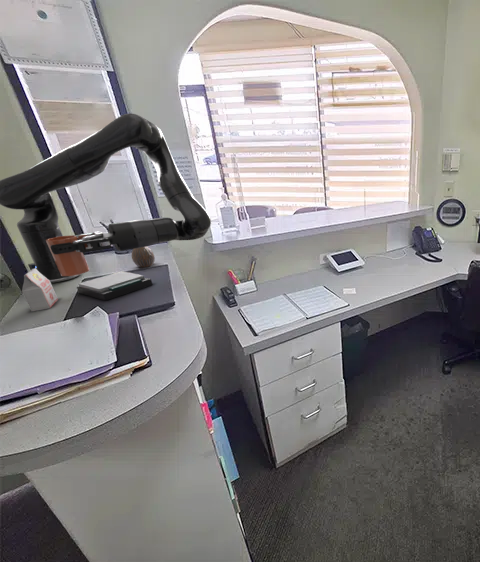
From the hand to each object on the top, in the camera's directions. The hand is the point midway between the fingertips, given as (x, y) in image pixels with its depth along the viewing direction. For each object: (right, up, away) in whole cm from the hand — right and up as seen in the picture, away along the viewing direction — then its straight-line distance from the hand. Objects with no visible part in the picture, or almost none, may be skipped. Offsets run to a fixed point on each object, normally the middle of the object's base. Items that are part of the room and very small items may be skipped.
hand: (50, 248), depth 74 cm
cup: (+2, -6, +4) cm, 7 cm away
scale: (-3, -10, +23) cm, 25 cm away
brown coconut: (-10, -2, +44) cm, 45 cm away
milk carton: (-15, -15, +13) cm, 24 cm away
